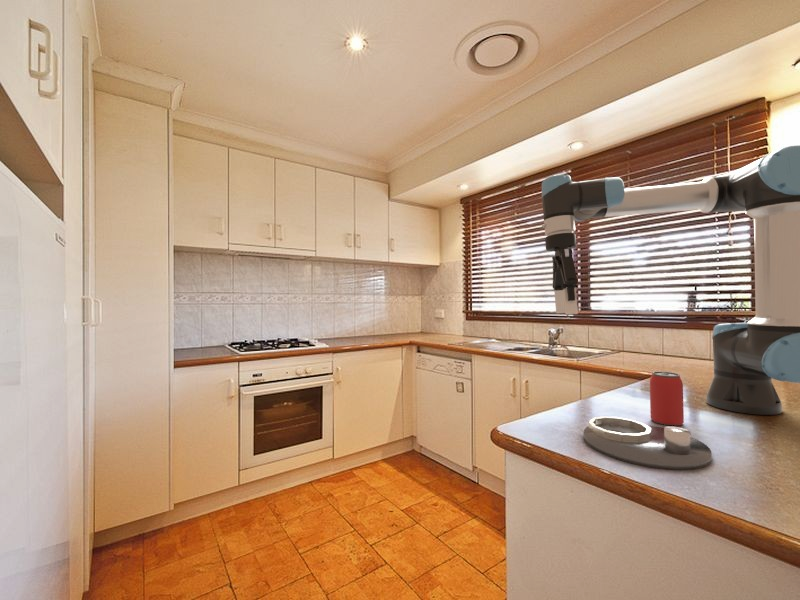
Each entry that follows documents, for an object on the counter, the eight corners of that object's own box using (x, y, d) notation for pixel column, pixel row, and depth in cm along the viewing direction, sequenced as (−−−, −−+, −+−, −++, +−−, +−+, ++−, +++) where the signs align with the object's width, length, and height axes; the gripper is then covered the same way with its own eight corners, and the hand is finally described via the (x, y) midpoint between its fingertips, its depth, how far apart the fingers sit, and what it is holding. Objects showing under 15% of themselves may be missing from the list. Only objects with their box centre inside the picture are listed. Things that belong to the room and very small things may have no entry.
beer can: (677, 419, 91) (676, 371, 91) (688, 428, 85) (687, 377, 85) (647, 416, 94) (646, 370, 94) (655, 425, 87) (654, 375, 87)
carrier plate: (673, 429, 85) (672, 407, 85) (742, 474, 63) (741, 444, 63) (572, 424, 89) (571, 403, 89) (604, 465, 67) (603, 437, 67)
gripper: (539, 243, 110) (544, 313, 110) (552, 226, 86) (559, 315, 85) (565, 241, 109) (571, 311, 108) (587, 222, 84) (594, 313, 84)
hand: (566, 313), depth 97 cm, fingers open, 13 cm apart
